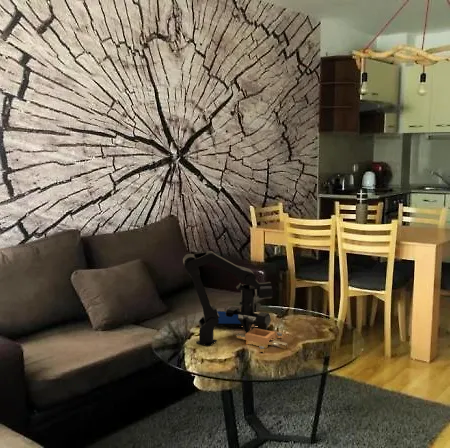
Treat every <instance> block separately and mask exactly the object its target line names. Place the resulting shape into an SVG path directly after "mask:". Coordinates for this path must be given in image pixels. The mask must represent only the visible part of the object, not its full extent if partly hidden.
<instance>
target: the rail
mask: <svg viewBox="0 0 450 448" xmlns="http://www.w3.org/2000/svg"><path fill="white" fill-rule="evenodd" d="M245 334H246V333H241V332H238V333H236V336H241V337H245ZM277 335H278V336H282V337H283V333H282V332H280V331H279V332H278V331H277V332H276V336H277ZM269 342H273V343H278V344H282V345H285V346H286V345H287V346H288V343H287V342H283V341H279V340H276V339H275V340H270V341H269ZM259 348H260V349H264V348H265V347H264V346H259V347H258V349H259ZM265 349H266V348H265Z"/></svg>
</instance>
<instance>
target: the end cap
mask: <svg viewBox="0 0 450 448" xmlns="http://www.w3.org/2000/svg"><path fill="white" fill-rule="evenodd" d="M271 320H272V317H270V320H268V321H267V322H266V323H259V322H257V321H254V322H253V324H252V325H253V326H251V329H250V330H252V329H253V328H258V329H263V330H268V327H270V326H269V325H270V324H271ZM255 326H258V327H255Z"/></svg>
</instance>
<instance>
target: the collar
mask: <svg viewBox="0 0 450 448" xmlns="http://www.w3.org/2000/svg"><path fill="white" fill-rule="evenodd" d="M244 334H245V340H248V341H253V342H259V343H264V344H268V341H270V340H271V339H275V340H276V331H271V330H268V329H267V330H263V329H258V328H253V329H252V330H251V329H250V331H249V332H247V333H246V332H245V333H244Z"/></svg>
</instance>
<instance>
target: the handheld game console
mask: <svg viewBox="0 0 450 448" xmlns="http://www.w3.org/2000/svg"><path fill="white" fill-rule="evenodd" d="M217 312H218V315H219V317H220V318H218V320H219V323H218V324H217V326H215V328H217V327H219V328H221V327H222V328H228V327H230V326H232V327H230V328H242V327H241V326H242V324H241V323H240V321H239V320H237V319H238V315H235V314H234V315H233V316H232V317H228V316H226V310H225V311H223V310H217ZM233 326H234V327H233ZM239 326H240V327H239Z"/></svg>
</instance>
